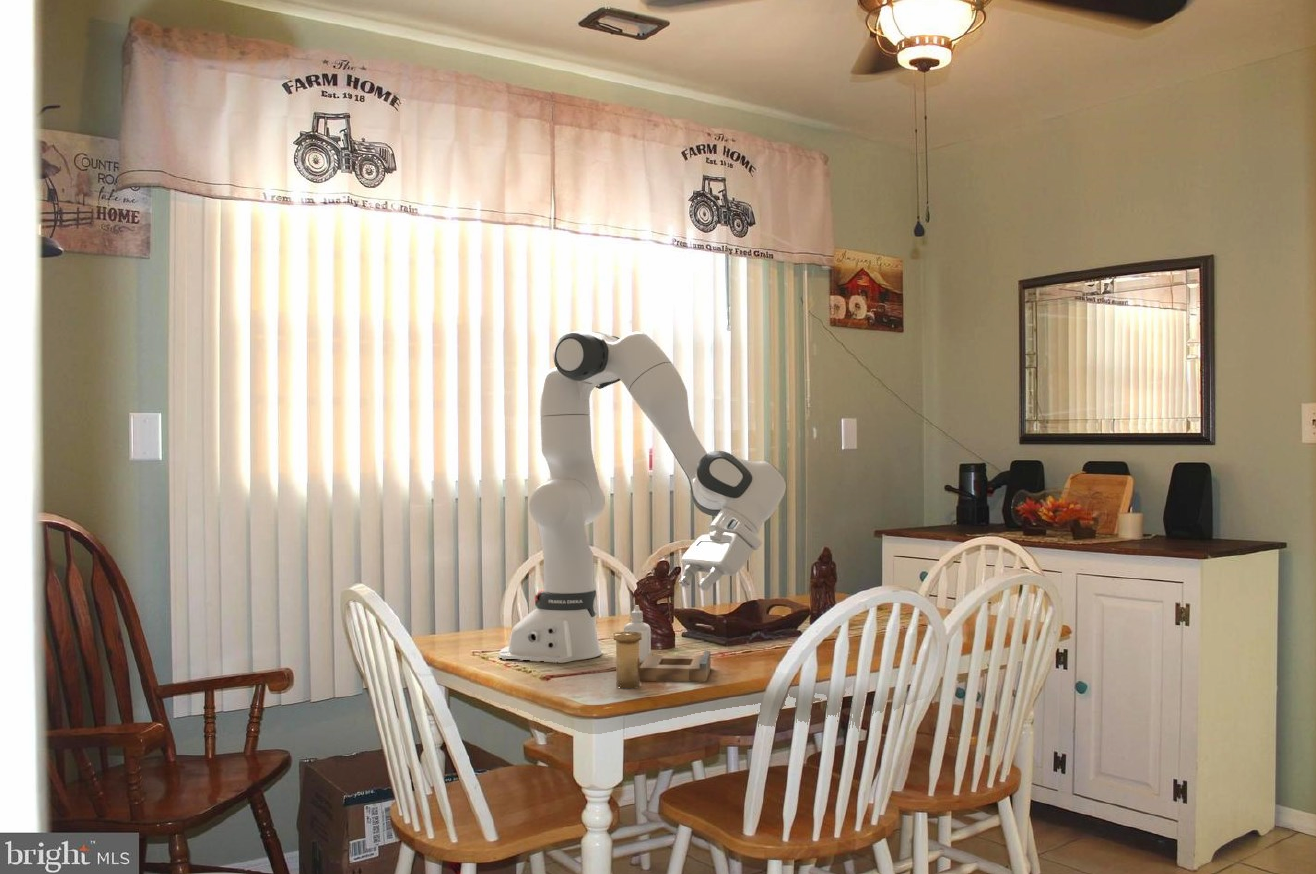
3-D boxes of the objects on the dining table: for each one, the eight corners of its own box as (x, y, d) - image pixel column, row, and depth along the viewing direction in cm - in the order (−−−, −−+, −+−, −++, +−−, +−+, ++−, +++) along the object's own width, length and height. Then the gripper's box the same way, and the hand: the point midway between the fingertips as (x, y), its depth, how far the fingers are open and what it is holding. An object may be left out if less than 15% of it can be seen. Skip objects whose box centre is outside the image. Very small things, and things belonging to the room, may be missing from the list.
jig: (639, 680, 202) (639, 662, 202) (648, 667, 215) (647, 650, 215) (705, 681, 200) (705, 663, 200) (710, 668, 213) (710, 651, 213)
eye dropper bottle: (639, 665, 217) (639, 607, 217) (620, 661, 221) (620, 605, 221) (654, 661, 220) (653, 605, 220) (635, 658, 224) (634, 603, 224)
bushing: (611, 689, 195) (611, 636, 195) (616, 683, 200) (616, 631, 200) (640, 689, 194) (639, 636, 194) (644, 683, 199) (643, 631, 199)
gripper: (698, 522, 216) (659, 574, 212) (743, 523, 197) (702, 580, 193) (719, 541, 218) (681, 593, 214) (766, 543, 199) (725, 601, 195)
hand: (691, 587), depth 203 cm, fingers open, 8 cm apart
